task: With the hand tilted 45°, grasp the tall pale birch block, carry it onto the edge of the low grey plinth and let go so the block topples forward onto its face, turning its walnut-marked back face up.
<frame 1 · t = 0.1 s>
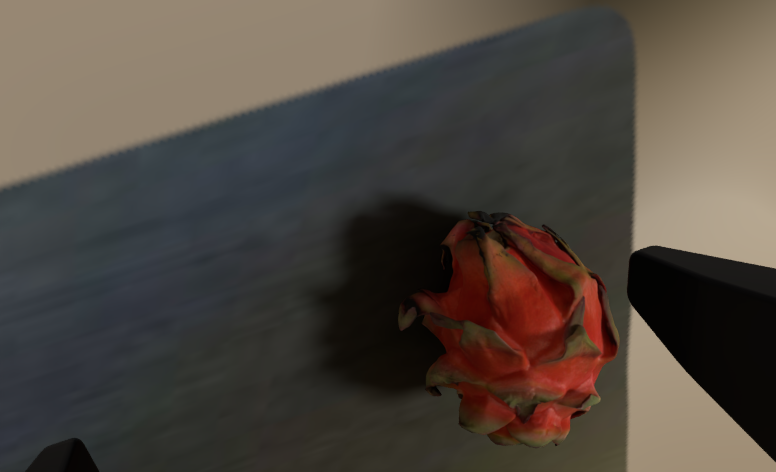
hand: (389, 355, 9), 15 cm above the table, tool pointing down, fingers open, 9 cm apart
dragon fruit: (470, 284, 28), on the table
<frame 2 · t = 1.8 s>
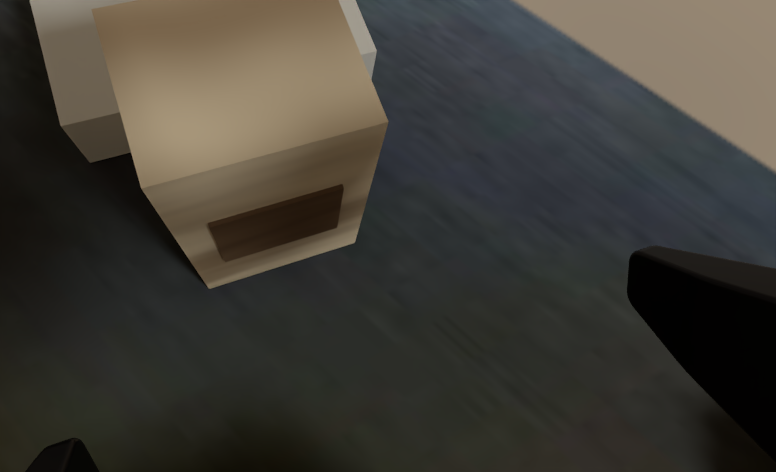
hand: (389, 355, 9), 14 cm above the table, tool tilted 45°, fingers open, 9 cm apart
grey plinth: (217, 66, 25), on the table
birch block: (265, 209, 24), on the table
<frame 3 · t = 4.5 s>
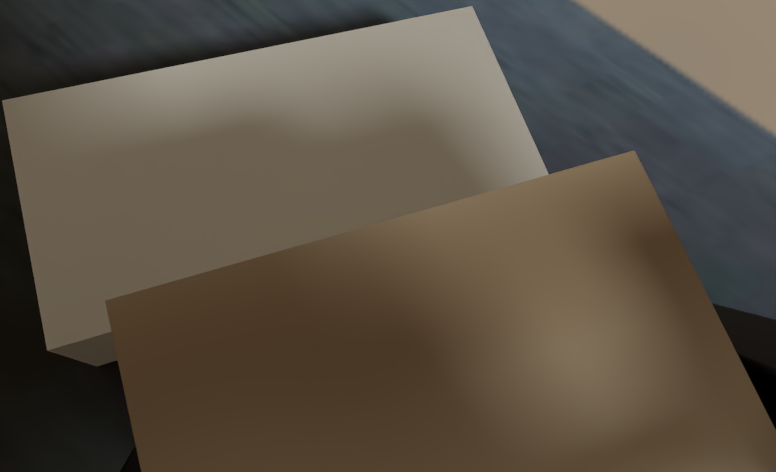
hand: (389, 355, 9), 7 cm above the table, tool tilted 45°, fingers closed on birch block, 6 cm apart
grey plinth: (294, 199, 17), on the table
birch block: (371, 440, 15), on the table, touching gripper
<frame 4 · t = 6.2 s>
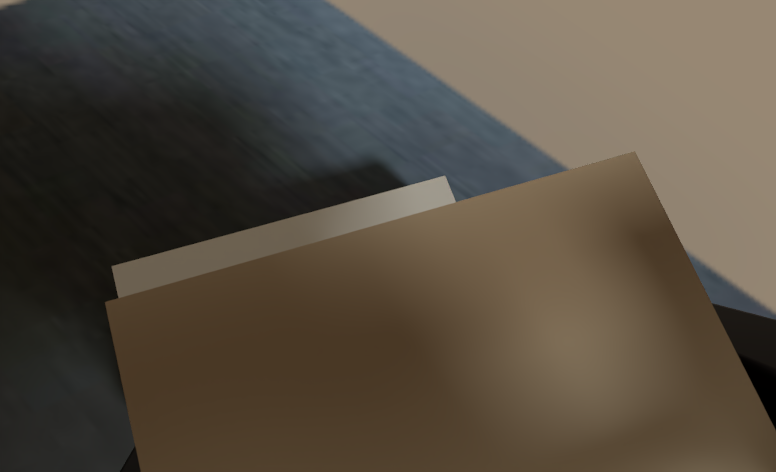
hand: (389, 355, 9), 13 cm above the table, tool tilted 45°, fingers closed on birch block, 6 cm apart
grey plinth: (313, 315, 22), on the table
birch block: (371, 441, 15), point 7 cm above the table, touching gripper
when the fingers open (11 cm above the table, at t = 7.8 s): birch block drops 2 cm and tips over, point 2 cm above the table.
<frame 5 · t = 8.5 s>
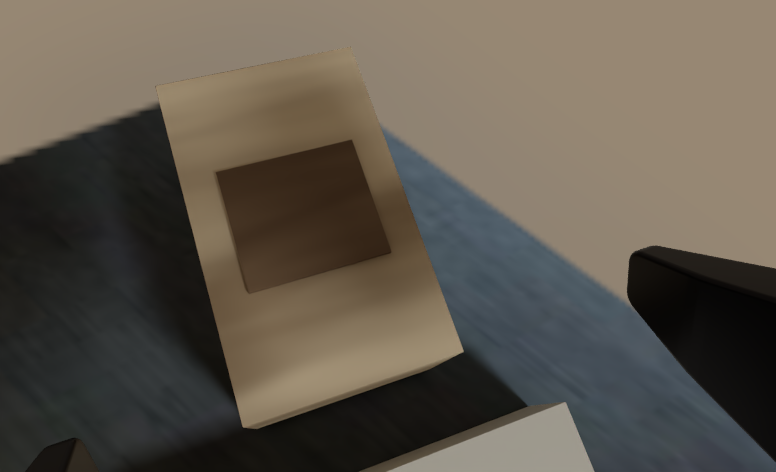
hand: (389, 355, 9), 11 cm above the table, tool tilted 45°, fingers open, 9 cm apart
birch block: (350, 394, 17), point 2 cm above the table, tilted 90°
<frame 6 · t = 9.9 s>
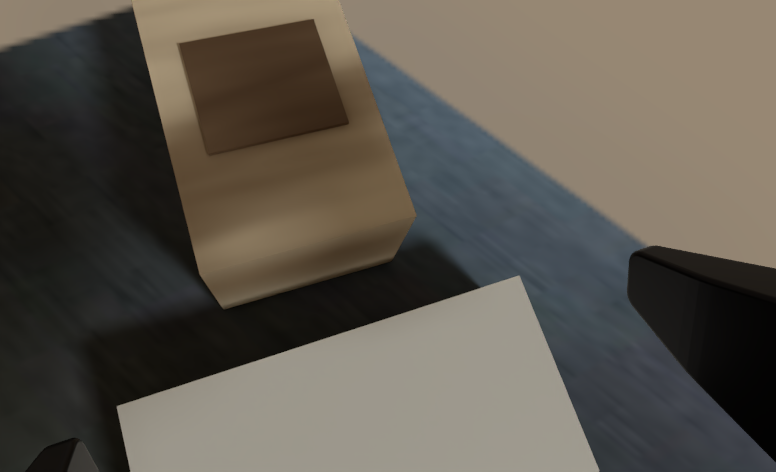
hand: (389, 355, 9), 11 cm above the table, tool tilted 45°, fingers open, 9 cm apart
grey plinth: (357, 437, 19), on the table
birch block: (311, 267, 18), point 2 cm above the table, tilted 90°
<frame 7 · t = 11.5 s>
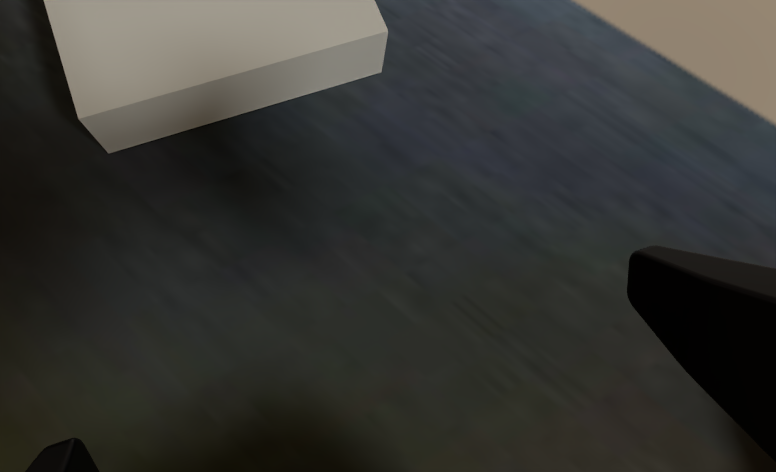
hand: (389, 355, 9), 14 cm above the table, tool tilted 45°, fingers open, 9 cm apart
grey plinth: (229, 52, 25), on the table
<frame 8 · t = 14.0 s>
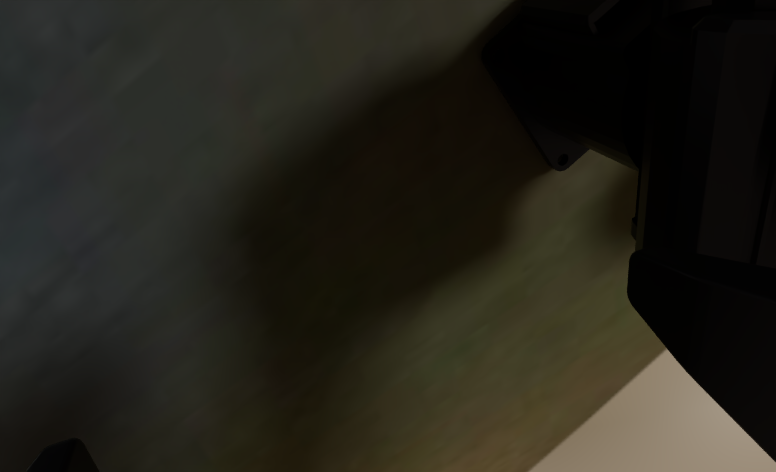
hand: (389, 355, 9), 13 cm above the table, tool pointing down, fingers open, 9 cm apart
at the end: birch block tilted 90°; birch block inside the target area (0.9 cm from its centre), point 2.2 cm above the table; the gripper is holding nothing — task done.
